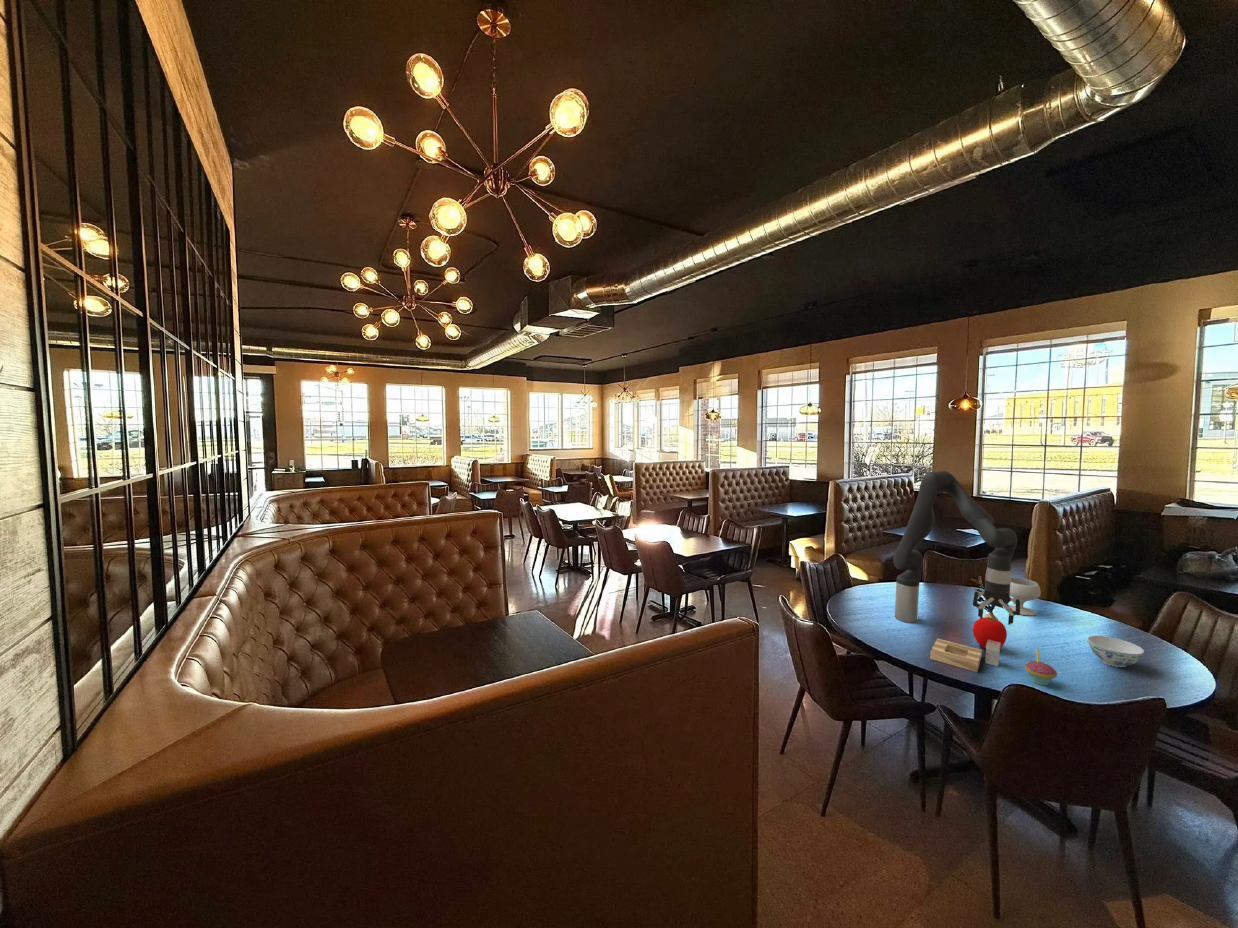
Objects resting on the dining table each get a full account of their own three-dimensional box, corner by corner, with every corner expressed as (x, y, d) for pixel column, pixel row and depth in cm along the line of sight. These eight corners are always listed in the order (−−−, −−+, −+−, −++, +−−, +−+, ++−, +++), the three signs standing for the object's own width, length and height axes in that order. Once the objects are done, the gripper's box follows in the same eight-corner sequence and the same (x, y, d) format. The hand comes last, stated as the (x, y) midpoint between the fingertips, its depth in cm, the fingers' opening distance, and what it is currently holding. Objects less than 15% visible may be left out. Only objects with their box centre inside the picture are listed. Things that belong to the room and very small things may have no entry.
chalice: (1035, 609, 236) (1038, 580, 235) (1041, 619, 224) (1044, 588, 223) (1000, 603, 244) (1002, 575, 242) (1003, 613, 232) (1006, 583, 230)
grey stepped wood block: (986, 657, 189) (987, 639, 189) (999, 660, 187) (1000, 642, 186) (984, 664, 184) (986, 645, 183) (997, 667, 181) (999, 648, 181)
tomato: (991, 656, 190) (994, 625, 189) (965, 643, 201) (967, 614, 200) (1012, 652, 193) (1015, 621, 192) (986, 640, 204) (988, 611, 203)
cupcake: (1017, 676, 176) (1020, 644, 174) (1039, 675, 176) (1041, 643, 175) (1040, 689, 167) (1043, 656, 166) (1062, 688, 168) (1065, 655, 167)
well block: (936, 645, 200) (937, 638, 199) (981, 657, 190) (982, 649, 189) (930, 658, 188) (930, 651, 188) (977, 672, 178) (977, 664, 178)
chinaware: (1083, 650, 195) (1085, 632, 194) (1137, 661, 185) (1139, 642, 185) (1088, 664, 183) (1090, 645, 183) (1145, 678, 174) (1148, 657, 173)
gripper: (1022, 581, 180) (1019, 623, 182) (975, 573, 190) (973, 613, 191) (1021, 586, 175) (1018, 629, 176) (973, 578, 184) (971, 618, 186)
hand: (995, 620), depth 184 cm, fingers open, 8 cm apart
